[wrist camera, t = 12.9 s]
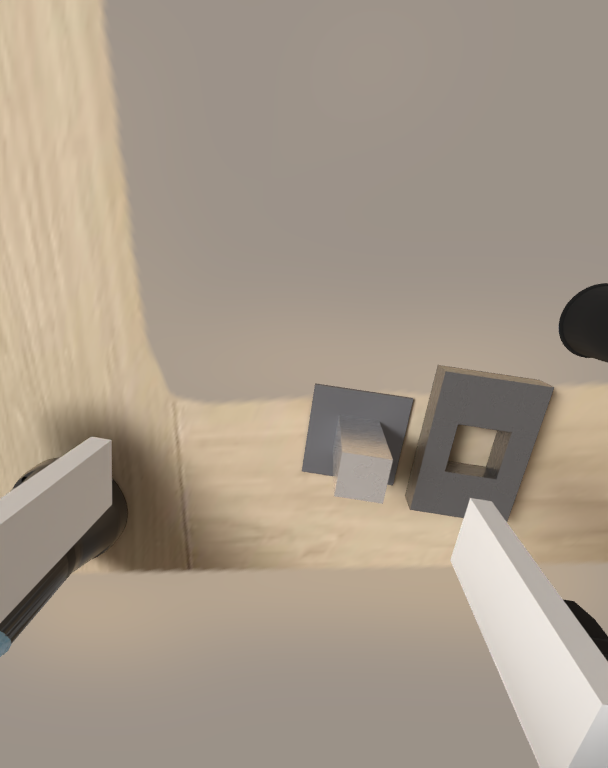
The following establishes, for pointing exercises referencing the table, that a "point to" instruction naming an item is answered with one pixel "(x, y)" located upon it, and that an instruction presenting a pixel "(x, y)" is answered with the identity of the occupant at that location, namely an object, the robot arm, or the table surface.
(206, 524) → the table surface
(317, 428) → the rubber pad
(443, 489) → the square hole plate
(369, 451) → the rectangular peg block
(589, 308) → the aerosol can
